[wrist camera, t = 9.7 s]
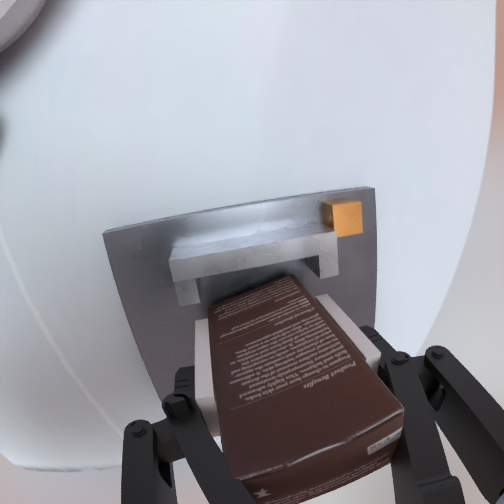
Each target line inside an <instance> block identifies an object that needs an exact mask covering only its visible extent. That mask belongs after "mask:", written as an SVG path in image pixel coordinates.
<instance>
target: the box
mask: <svg viewBox="0 0 504 504" xmlns="http://www.w3.org/2000/svg"><path fill="white" fill-rule="evenodd" d="M207 316H208V328H209V341H210V352H211V361H212V369H213V380H214V388H215V397H216V405H217V412H218V420H219V428H220V435H221V444H222V450H223V455H224V456H225V458H226V459H227V462H228V466H229V469H230V470H231V474H232V477H233V478H235V479H240V481H241V482H242V483H243V485H244V486H245V488H246V489H247V491H248V492H249V493H250V495H251V496H252V497H253V499H254V500H255V502H256V503H257V504H299V503H301V502H304V501H307V500H309V499H312V498H315V497H318V496H320V495H323V494H325V493H328V492H330V491H333V490H335V489H338V488H340V487H342V486H345V485H347V484H349V483H351V482H353V481H355V480H358V479H360V478H362V477H364V476H366V475H368V474H370V473H372V472H374V471H376V470H378V469H380V468H382V467H384V466H385V465H387V464H389V463H391V461H390V460H391V458H392V455H393V453H394V451H395V449H396V446H397V444H398V441H399V439H400V436H401V433H402V427H403V418H404V407H403V406H402V404H401V403H400V402H399V401H398V400H397V399H396V397H395V396H394V395H393V394H392V393H391V392H390V390H389V389H388V388H387V387H386V385H385V384H384V383H383V382H382V380H381V379H380V378H379V377H378V376H377V374H376V373H375V372H374V371H373V369H372V368H371V367H370V366H369V365H368V363H367V362H366V361H365V360H364V358H363V357H362V356H361V355H360V354H359V353H358V351H357V350H356V349H355V348H354V346H353V345H352V344H351V343H350V342H349V340H348V339H347V338H346V337H345V336H344V334H343V333H342V332H341V331H340V330H339V328H338V327H337V326H336V325H335V324H334V322H333V321H332V320H331V319H330V318H329V316H328V315H327V314H326V313H325V311H324V310H323V309H322V308H321V307H320V305H319V304H318V303H317V302H316V301H315V299H314V298H313V297H312V296H311V294H310V293H309V292H308V291H307V290H306V288H305V287H304V286H303V284H302V283H301V282H300V281H299V280H298V279H297V277H296V276H295V275H294V274H289V275H287V276H285V277H282V278H280V279H277V280H275V281H272V282H270V283H267V284H265V285H263V286H260V287H258V288H255V289H253V290H250V291H248V292H245V293H243V294H240V295H238V296H235V297H233V298H230V299H228V300H225V301H223V302H220V303H218V304H215V305H213V306H210V307H208V308H207Z"/></svg>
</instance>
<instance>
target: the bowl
mask: <svg viewBox="0 0 504 504" xmlns="http://www.w3.org/2000/svg"><path fill="white" fill-rule="evenodd" d="M46 1H47V0H0V52H2V51H4V50H5V49H6V48H8V47H9V46H10V45H12V44H13V43H14V42H15V41H16V40H17V39H19V38H20V37H21V36H22V35H23V33H24V32H25V31H26V30H27V29H28V28H29V27H30V26H31V24H32V23H33V22H34V21H35V19H36V18H37V16H38V15H39V13H40V12H41V10H42V9H43V7H44V5H45V3H46Z"/></svg>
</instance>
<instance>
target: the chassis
mask: <svg viewBox="0 0 504 504" xmlns="http://www.w3.org/2000/svg"><path fill="white" fill-rule="evenodd" d="M103 238H104V242H105V246H106V250H107V254H108V258H109V261H110V265H111V269H112V272H113V276H114V279H115V282H116V286H117V289H118V292H119V295H120V298H121V301H122V304H123V307H124V310H125V313H126V316H127V319H128V322H129V325H130V328H131V330H132V333H133V336H134V338H135V341H136V344H137V346H138V349H139V351H140V354H141V356H142V359H143V361H144V364H145V366H146V369H147V371H148V373H149V376H150V378H151V380H152V383H153V385H154V387H155V389H156V391H157V394H158V396H159V398H160V400H161V402H162V401H163V399H164V398H165V397H166V396H167V395H169V394H171V393H173V392H174V383H175V374H176V372H177V371H178V369H179V368H181V367H188V366H194V365H195V321H196V320H202V319H207V318H208V316H207V308H208V307H210V306H213V305H215V304H218V303H220V302H223V301H225V300H228V299H230V298H233V297H235V296H238V295H240V294H243V293H245V292H248V291H250V290H253V289H255V288H258V287H260V286H263V285H265V284H267V283H270V282H272V281H275V280H277V279H280V278H282V277H285V276H287V275H289V274H294V275H295V276H296V277H297V279H298V280H299V281H300V282H301V283H302V284H303V286H304V287H305V288H306V290H307V291H308V292H309V293H310V294H311V296H312V297H313V298H314V299H315V296H319V295H323V294H328V296H329V297H330V298H331V299H332V300H333V301H334V302H335V303H336V304H337V305H338V306H339V307H340V308H341V309H342V311H343V312H344V313H345V314H346V315H347V316H348V317H349V318H350V319H351V320H352V321H353V322H354V324H355V325H356V326H357V327H358V328H359V327H362V326H365V325H367V326H369V327H372V328H374V324H375V308H376V284H377V226H376V202H375V188H371V187H362V188H353V189H344V190H336V191H328V192H320V193H313V194H305V195H298V196H291V197H284V198H278V199H271V200H264V201H258V202H252V203H246V204H239V205H233V206H228V207H222V208H216V209H210V210H205V211H199V212H194V213H188V214H183V215H178V216H173V217H168V218H163V219H158V220H153V221H148V222H143V223H138V224H133V225H129V226H124V227H120V228H115V229H111V230H107V231H105V232H104V233H103ZM315 301H316V299H315Z"/></svg>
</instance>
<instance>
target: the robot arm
mask: <svg viewBox="0 0 504 504" xmlns="http://www.w3.org/2000/svg"><path fill="white" fill-rule="evenodd" d="M315 299H316V302H317V303H318V304H319V305H320V307H321V308H322V309H323V310H324V311H325V313H326V314H327V315H328V316H329V318H330V319H331V320H332V321H333V322H334V324H335V325H336V326H337V327H338V328H339V330H340V331H341V332H342V333H343V334H344V336H345V337H346V338H347V339H348V340H349V342H350V343H351V344H352V345H353V346H354V348H355V349H356V350H357V351H358V353H359V354H360V355H361V356H362V357H363V358H364V360H365V361H366V362H367V363H368V365H369V366H370V367H371V368H372V369H373V371H374V372H375V373H376V374H377V376H378V377H379V378H380V379H381V380H382V382H383V383H384V384H385V385H386V387H387V388H388V389H389V390H390V392H391V393H392V394H393V395H394V396H395V397H396V399H397V400H398V401H399V402H400V403H401V404H402V406H403V407H404V418H403V427H402V433H401V436H400V439H399V441H398V444H397V446H396V449H395V451H394V453H393V455H392V458H391V460H390V461H391V468H392V476H393V483H394V492H395V502H396V504H465V500H464V496H463V492H462V487H461V483H460V481H459V479H458V478H457V477H456V476H452V475H451V474H450V471H449V467H448V463H447V460H446V456H445V453H444V449H443V446H442V442H441V439H440V436H439V432H438V430H437V427H436V423H437V424H438V426H439V427H440V429H441V430H442V432H443V433H444V435H445V436H446V438H447V439H448V441H449V442H450V444H451V446H452V447H453V449H454V450H455V452H456V453H457V455H458V456H459V458H460V459H461V461H462V463H463V464H464V466H465V467H466V469H467V471H468V472H469V474H470V475H471V477H472V479H473V480H474V482H475V484H476V485H477V487H478V489H479V490H480V492H481V493H482V495H483V496H484V498H485V499H486V500H487V501H488V502H489V503H490V504H504V410H503V409H502V407H501V406H500V405H499V404H498V403H497V402H496V401H495V400H494V398H493V397H492V396H491V395H490V394H489V393H488V392H487V391H486V389H484V387H483V386H482V385H481V384H480V383H479V382H478V381H477V380H476V379H475V378H474V376H473V375H472V374H471V373H470V372H469V371H468V370H467V369H466V368H465V367H464V366H463V365H462V364H461V363H460V362H459V361H458V360H457V359H456V358H455V357H454V356H453V355H452V354H451V352H450V351H449V350H448V349H446V348H445V347H442V346H431V347H429V348H428V349H427V350H426V352H425V355H424V356H417V357H410V355H409V354H407V353H405V352H401V351H396V350H395V349H394V348H393V347H392V346H391V345H390V344H389V343H388V342H387V341H386V340H385V339H383V337H382V336H381V335H379V333H378V332H377V331H376V330H375V329H374V328H372V327H369V326H367V325H365V326H362V327H359V328H358V327H357V326H356V325H355V324H354V322H353V321H352V320H351V319H350V318H349V317H348V316H347V315H346V314H345V313H344V312H343V311H342V309H341V308H340V307H339V306H338V305H337V304H336V303H335V302H334V301H333V300H332V299H331V298H330V297H329V296H328V294H323V295H319V296H315ZM162 408H163V410H164V412H165V414H166V416H167V418H165V419H164V420H162V421H159V422H156V423H154V424H150V423H149V422H148V421H146V420H135V421H133V422H131V423H129V424H128V425H127V426H126V428H125V431H124V440H123V455H122V480H121V481H122V482H121V504H178V503H177V496H176V489H175V480H174V472H173V461H176V460H179V459H182V458H186V460H187V462H188V464H189V466H190V468H191V470H192V472H193V474H194V476H195V478H196V480H197V482H198V484H199V486H200V487H201V489H202V491H203V493H204V495H205V497H206V498H207V500H208V502H209V504H257V503H256V502H255V500H254V499H253V497H252V496H251V495H250V493H249V492H248V491H247V489H246V488H245V486H244V485H243V483H242V482H241V481H240V479H235V478H233V477H232V474H231V470H230V469H229V466H228V462H227V459H226V458H225V456H224V455H223V453H222V452H221V450H220V448H219V447H218V445H217V444H216V442H215V440H214V439H213V437H215V436H221V435H220V428H219V420H218V412H217V405H216V397H215V388H214V380H213V369H212V361H211V352H210V341H209V328H208V318H207V319H202V320H196V321H195V365H194V366H188V367H181V368H179V369H178V371H177V372H176V374H175V383H174V392H173V393H171V394H169V395H167V396H166V397H165V398H164V399H163V401H162ZM435 421H436V423H435Z"/></svg>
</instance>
